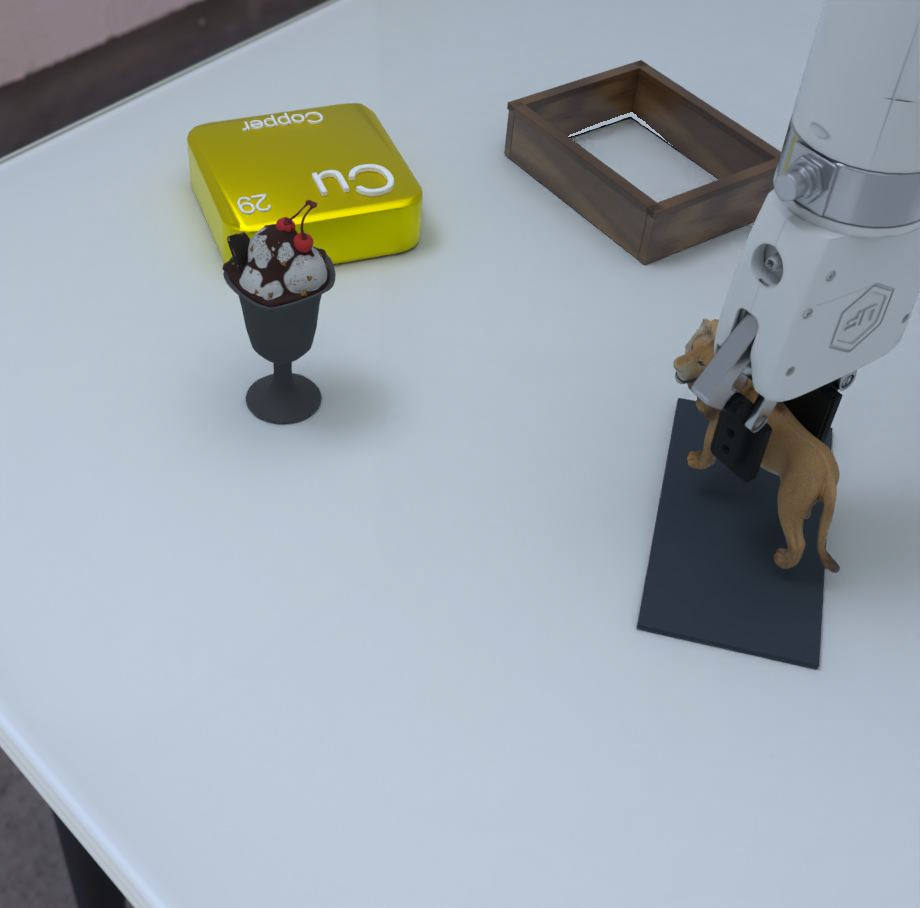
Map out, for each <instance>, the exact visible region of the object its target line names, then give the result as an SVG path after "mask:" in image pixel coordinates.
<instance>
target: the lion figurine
mask: <svg viewBox="0 0 920 908" xmlns="http://www.w3.org/2000/svg"><path fill="white" fill-rule="evenodd" d="M719 319H720V318H718V319H717V318H714V319H711V320H710V319H708V318H705V317H704V318H702V322H701V323H700V325H699V327H698V328H697V329H696V330H695V332H694V333H693V334H692V336H691V337H690V339H689V340H688V341H687V343H685V346H684V349H685V350H684V354H681V355H679V356H677V357H676V358H674V360H673V362H672V363H673V364H672V365H673V368H674V370H675V374H674V380H675V382H676V383H677V384H679V385H687V388H688V389H689V391H691V388H692V386H693V384H694V382H695V381H696V380H697V378H698V377H699V376H700V374H701V373H702V372H703V370H704V369H705V368H706V366H707V365H708V364H709V362H710V361H711V360H712V358H713V357H714V356H715V355H714V343H715V336H716V331H717V327H718V323H719ZM741 394H743V395H744V396H745V397H746V398H748V399H749V400H750V401H751V402H752V403H755V401H756V399H757V397H758V395H759V393H758V392H756V391H755V389H754V386H753V381H752V380H751V379H749V378H748V380H747V382H746V384H745V386H744V388H743V390H742V392H741ZM695 401H696V406H697V408H698V409H699V411H700V412H701V413H702V414H704V417H705V418H706V419H708V420H709V426H708V429H707V432H706V435H705V439H704V448H703V452H701V451H691V452H690V453H689V456H688V457H687V460H688V465H689V466H690V467H692V468H695V469H705V468H707V467H709V466H711V465H713V464H714V462H715V460H716V457H715V456H714V455H713V454H712V453H711V450H710V445H711V442H712V439H713V435H714V432H715V428H716V425H717V422H718V418H719V415H720V412H721V410H718V409H715V408H712V407H709V406H708V405H706V404H705V403H704V402H703V401H702V400H700V399H699V398H698V397H697V396H696V400H695ZM767 423H768V424H769V425H770V426H771V428H772V433H771V435H770V438H769V441H768V444H767V447H766V450H765V453H764V456H763V459H762V462H761V465H760V467H761V468H763V469H765V470H766V471H768V472H771V473H773V474H776V475H779V477H780V480H781V482H780V487H779V491H778V514H779V519H780V523H781V526H782V529H783V532H784V535H785V538H786V542H787V546H788V549H783V548H779V549H777V551H776V553H775V555H774V562H775V563H776V564H777V565H778V566H779V567H781V568H783V569H789V568H791V567H793V566H795V565H796V564H798V563H799V561H800V559H801V557H802V554H803V551H804V548H805V545H806V544H805V540H804V536H803V522H804V519H808V518H809V517H810V515H811V509H812V507H813V506H814V505H815V504H816V503H817V502H820V501H822V502H823V509H822V513H821V517H820V522H819V529H818V533H817V552H818V555H819V557H820V560H821V562H822V564H823V566H824V568H825V570H827V571H829V572H831V573H833V574H837V573H839V572H840V571H841V566H840V564H839V563H838V562H837V561H836V560H835V559H834V558H833V557H832V556H831V554H830V553H829V552H828V551H827V546H826V547H825V542H826V543H827V538H828V532H829V529H830V526H831V523H832V520H833V516H834V513H835V512H834V511H835V508H836V507H835V506H836V499H837V493H838V489H837V488H838V487H837V486H838V484H839V481H840V469H839V464H838V462H837V460H836V457H835V456H834V455H835V454H834V453H833V451H832V449H831V450H830V448H829V447H828V446H827V445H825V444H824V443H823V442H821V441H820V440H819V439H817V438H816V437H815V436H813V435H812V434H811V433H810V432H809V431H808V430H807V429H806V428H805V427H804V426H803V425H802V424H801V423H800V422H799V421H798V420H797V419H796V418H795V416H794V415H793V414H792V413H791V412H790V410H789V409H788V408H787V407H786V406H785V405H784V403H783V402H777V404H776V406H775V408H774V409H773V411H772V413H771V415H770V417H769V419H768V421H767ZM826 537H827V538H826Z"/></svg>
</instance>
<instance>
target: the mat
mask: <svg viewBox="0 0 920 908" xmlns="http://www.w3.org/2000/svg"><path fill="white" fill-rule="evenodd" d="M708 426H709V420H708V419H706V418H705V417H704V414H702V413H701V412H700V411H699V409H698V408H697V406H696V400H692V399H689V398H688V399H687V398H683V397H678V398H677V400H676V406H675V413H674V416H673V424H672V429H671V434H670V439H669V446H668V450H667V457H666V462H665V467H664V473H663V478H662V484H661V489H660V496H659V502H658V505H657V512H656V518H655V522H654V523H655V524H654V529H653V533H652V534H653V535H652V540H651V546H650V551H649V556H648V562H647V568H646V574H645V579H644V585H643V590H642V596H641V600H640V601H641V602H640V606H639V613H638V618H637V623H636V629H637V630H641V631H645V632H650V633H654V634H659V635H663V636H667V637H672V638H677V639H681V640H686V641H690V642H694V643H700V644H704V645H707V646H711V647H712V646H713V647H716V648H722V649H726V650H730V651H735V652H739V653H743V654H748V655H751V656H752V655H753V656H756V657H761V658H765V659H770V660H773V661H774V660H775V661H779V662H783V663H788V664H791V665H797V666H802V667H806V668H810V669H815V670H818V669H819V667H820V662H821V660H820V658H821V643H822V628H823V627H822V626H823V610H824V609H823V607H824V593H825V592H824V591H825V590H824V589H825V573H826V571H825V570H826V569H825V568H824V566H823V564H822V562H821V560H820V557H819V555H818V552H817V533H818V529H819V522H820V517H821V513H822V509H823V502H822V501H820V502H817V503H816V504H815V505H814V506H813V507H812V509H811V515H810V517H809V518H808V519H804V522H803V536H804V540H805V544H806V545H805V548H804V551H803V554H802V557H801V559H800V561H799V563H798V564H796V565H795V566H793V567H791V568H789V569H783V568H781V567H779V566H778V565H777V564H776V563H775V562H774V555H775V553H776V551H777V549H779V548H783V549H788V546H787V542H786V538H785V535H784V532H783V529H782V526H781V523H780V519H779V514H778V491H779V487H780V482H781V480H780V477H779V475H776V474H773V473H771V472H768V471H766V470H765V469H763V468H761V467H760V468H759V471H758V474H757V476H756V478H755V479H753V480H751V481H749V482H744V481H742V480H741V479H740V478H739V477H738V476H737V475H736V474H734V473H733V472H732V471H731V470H730V469H729V468H728V467H726V466H725V465H724V464H723V463H722V462H721V461H720V460H718V459H717V458H716V460H715V462H714V464H713V465H711V466H709V467H707V468H705V469H695V468H692V467H690V466H689V465H688V460H687V457H688V456H689V453H690V452H691V451H701V452H703V448H704V439H705V435H706V432H707V429H708ZM833 429H834V428H833V427H832V426H831V427H830V430H829V433H828V435H827V438H826V440H825V443H824V444H825V445H827V446H828V447H829V448H830V450H831V451H832V447H833V446H832V445H833ZM827 538H828V536H827V537H826V539H827ZM825 547H826V548H827V541H826V542H825Z"/></svg>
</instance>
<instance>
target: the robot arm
mask: <svg viewBox="0 0 920 908" xmlns="http://www.w3.org/2000/svg"><path fill="white" fill-rule="evenodd" d="M810 45H811V46H810V47H809V48H810V49H809V52H808V56H807V59H806V63H805V66H804V69H803V73H802V77H801V81H800V84H799V88H798V91H797V95H796V98H795V101H794V106H793V108H792V113H791V116H790V120H789V123H788V127H787V131H786V133H785V136H784V140H783V143H782V144H783V145H782V148H781V150H780V151H781V154H780V158H779V161H778V164H777V168H776V171H775V175H774V180H773V182H774V189H773V190H772V191H771V192H769V194H768V195H767V197H766V199H765V201H764V204H763V206H762V208H761V210H760V212H759V214H758V216H757V218H756V220H755V221H754V222H753V225H752V226H751V227H752V228H751V229H750V232H749V234H748V237H747V239H746V241H745V243H744V246H743V248H742V251H741V253H740V256H739V259H738V261H737V264H736V265H735V266H736V267H735V270H734V272H733V274H732V278H731V281H730V283H729V286H728V288H727V292H726V295H725V298H724V302H723V305H722V309H721V311H720V315H719V318H718V319H719V323H718V327H717V331H716V336H715V343H714V355H715V356H714V357H713V358H712V360H711V361H710V362H709V364H708V365H707V366H706V368H705V369H704V370H703V372H702V373H701V374H700V376H699V377H698V378H697V380H696V381H695V382H694V384H693V386H692V388H691V390H690V392H691V393H692V394H693V395H694V396H695V397H696V398H697V397H698V398H699V399H700V400H702V401H703V402H704V403H705V404H706V405H708V406H709V407H712V408H715V409H718V410H721V412H720V415H719V418H718V422H717V425H716V428H715V432H714V435H713V439H712V442H711V445H710V450H711V453H712V454H713V455H714V456H715V457H716V458H717V459H718V460H720V461H721V462H722V463H723V464H724V465H725V466H726V467H728V468H729V469H730V470H731V471H732V472H733V473H734V474H736V475H737V476H738V477H739V478H740V479H741V480H742V481H744V482H749V481H751V480H753V479H755V478H756V476H757V474H758V471H759V468H760V465H761V462H762V459H763V456H764V453H765V450H766V447H767V444H768V441H769V438H770V435H771V433H772V428H771V426H770V425H769V424H768V423H767V421H768V419H769V417H770V415H771V413H772V411H773V409H774V408H775V406H776V404H777V402H783V403H784V405H785V406H786V407H787V408H788V409H789V410H790V412H791V413H792V414H793V415H794V416H795V418H796V419H797V420H798V421H799V422H800V423H801V424H802V425H803V426H804V427H805V428H806V429H807V430H808V431H809V432H810V433H811V434H812V435H813V436H815V437H816V438H817V439H819V440H820V441H821V442H823V443H825V440H826V438H827V435H828V433H829V430H830V427H831V428H832V424H833V422H834V419H835V417H836V414H837V411H838V409H839V406H840V403H841V401H842V399H843V396H844V395H843V394H842V393H840V392H844V391H845V390H847V389H849V388H850V387H851V386H852V384H853V383H854V382H855V380H856V378H857V373H858V370H859V369H861V368H863V367H866V366H867V365H869V364H871V363H874V362H875V361H878V360H879V359H881V358H883V357H885V356H887V355H888V354H889V353H891V352H892V350H894V349H895V348H896V347H897V346H898V344H899V343H900V342H901V340H902V338H903V335H904V333H905V332H906V329H907V326H908V324H909V321H910V319H911V315H912V313H913V310H914V308H915V304H916V302H917V299H918V296H919V293H920V0H823V2H822V7H821V10H820V13H819V17H818V19H817V24H816V28H815V31H814V35H813V38H812V42H811V44H810ZM748 378H749V379H751V380H752V381H753V386H754V389H755V391H756V392H758V393H759V395H758V397H757V399H756V401H755V403H752V402H751V401H750V400H749V399H748V398H746V397H745V396H744V395H743V394H741V392H742V390H743V388H744V386H745V384H746V382H747V380H748ZM839 391H840V392H839Z"/></svg>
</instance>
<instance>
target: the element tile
mask: <svg viewBox="0 0 920 908" xmlns="http://www.w3.org/2000/svg"><path fill="white" fill-rule="evenodd" d="M186 145H187V155H188V167H189V177H190V178H189V179H190V185H191V187H192V190H193V192H194V194H195V197H196V199H197V201H198V204H199V206H200V209H201V211H202V214H203V216H204V218H205V220H206V223H207V226H208V228H209V230H210V232H211V235H212V237H213V240H214V243H215V245H216V247H217V249H218V251H219V254H220V257H221V259H222V261H223V263H224V264H225V263H226V262H228V261H229V260H230V258H231V257H232V254H231V251H230V248H229V245H228V242H227V236H230V235H234V234H236V233H237V234H239V233H242V232H245V233H246V234H247V235H248V237H249V238H250V239H251V238H252V237H253V236H254V235H255V234H256V233H257V232H258V231H259V230H260V229H261V228H263V227H264V226H265V225H271V224H276V222H277V220H278V219H280V218H283V217H288V218H291V217H292V216H294V215H295V214H296V213H298V212H299V210H300V209H301V208H302V207H303V206H304V205H305V204H306V202H305V201H306V200H311V201H313V202H316V203H317V207H316V208H313V209H312V210H311V211H310V212H309V213H308V214H307V215H306V217H305V220H304V224H303V230H304V233H306V234H309V235H310V236H311V237H312V238H313V246H314V247H316V248H319V249H323V250H325V251H326V254H327V255H328V256H329V257H330V258H331V260H332V263H333V265H338V264H343V263H350V262H355V261H363V260H368V259H372V258H377V257H378V258H380V257H384V256H385V257H386V256H391V255H395V254H396V255H397V254H400V253H404V252H408V251H409V250H411V249H413V248H415V247H416V246H417V245H418V243H420V239H421V226H422V213H423V211H422V210H423V188H422V186H421V185H420V183H419V181H418V179H417V178H416V176H415V175H414V174H413V171H412V170H411V168H410V167H409V165H408V164H407V161H406V160H405V159H404V157H403V156H402V154H401V152H400V150H399V149H398V148H397V146H396V145H395V143H394V142H393V140H392V138H391V137H390V135H389V134H388V132H387V130H386V128H385V127H384V126H383V124H382V122H381V121H380V118H379V117H378V116H377V114H376V113H375V112H374V111H373V110H372V109H371V108H369V107H368V106H366V105H364V104H362V103H359V102H349V103H348V102H347V103H337V104H336V103H335V104H330V105H329V104H328V105H322V106H315V107H308V108H302V109H301V108H300V109H296V110H295V109H294V110H287V111H280V112H273V113H266V114H259V115H253V116H245V117H238V118H231V119H225V120H218V121H209V122H205V123H202V124H199V125H196V126H193V128H191V129H190V130H189V132H188V134H187V137H186ZM309 208H310V205H308V206H306V207H305V208H304V209H303V210H302V211H301V212H300V213H299V214H298V215H297V216H296V217H295V218H294V219H292V220H293V222H294V223H295V226H296V227H295V230H296V231H297V233H301V230H300V226H301V221H302V218H303V216H304V215H305V213H306V212H307V211H308V210H309ZM224 264H223V265H224Z"/></svg>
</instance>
